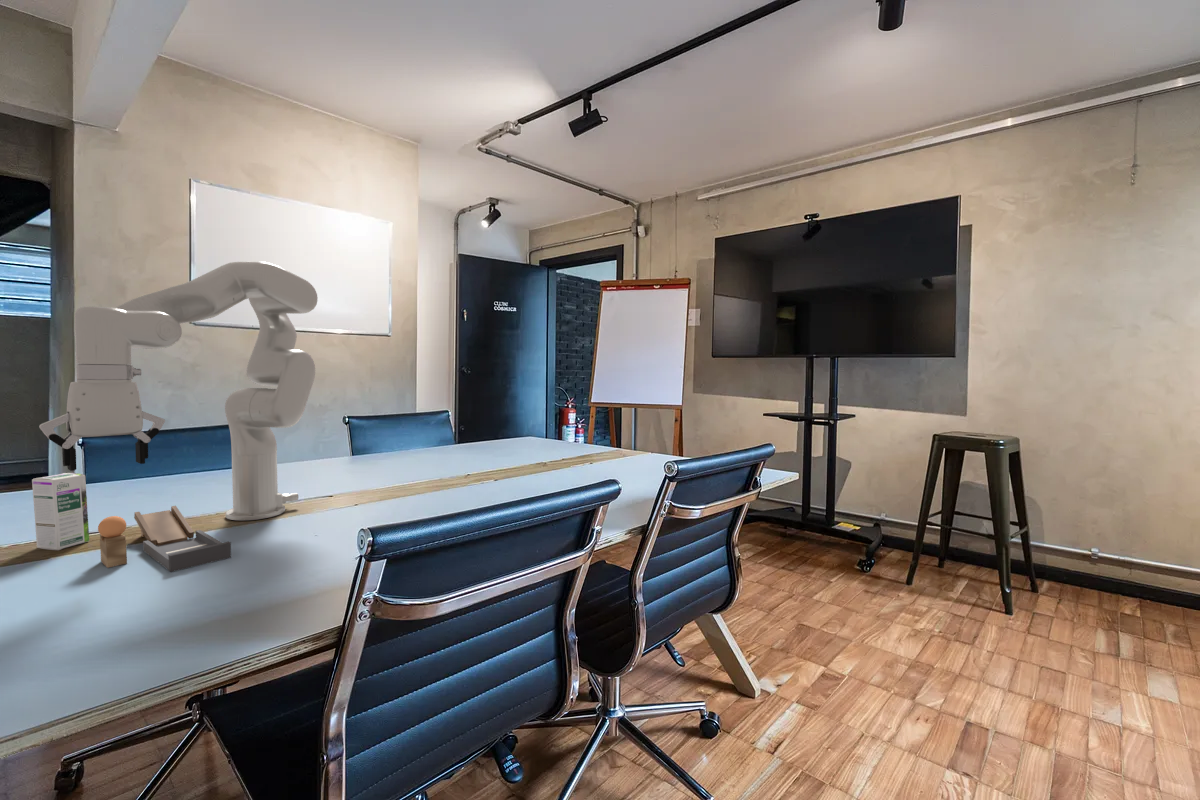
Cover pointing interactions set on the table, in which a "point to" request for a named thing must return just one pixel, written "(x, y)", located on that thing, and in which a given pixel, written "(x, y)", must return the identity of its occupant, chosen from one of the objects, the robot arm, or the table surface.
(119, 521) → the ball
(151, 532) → the ramp
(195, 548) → the lane
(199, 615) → the table surface
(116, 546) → the wooden upright block
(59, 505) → the syrup box
